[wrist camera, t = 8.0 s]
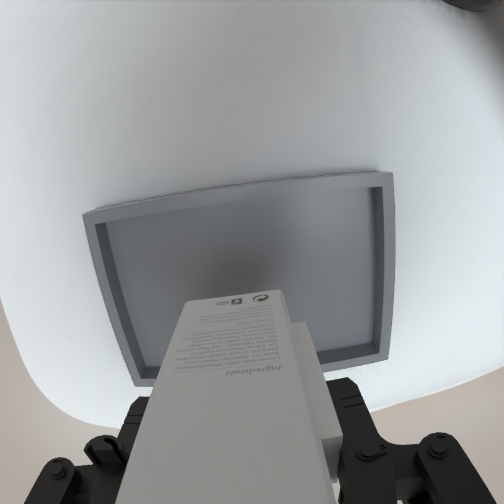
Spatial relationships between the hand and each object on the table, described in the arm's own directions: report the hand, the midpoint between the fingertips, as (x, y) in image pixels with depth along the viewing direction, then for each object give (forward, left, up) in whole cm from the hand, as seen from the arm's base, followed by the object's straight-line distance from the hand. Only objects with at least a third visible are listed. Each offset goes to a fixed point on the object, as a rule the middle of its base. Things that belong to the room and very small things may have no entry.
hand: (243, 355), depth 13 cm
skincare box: (0, 0, -1) cm, 1 cm away
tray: (0, 0, -8) cm, 8 cm away
